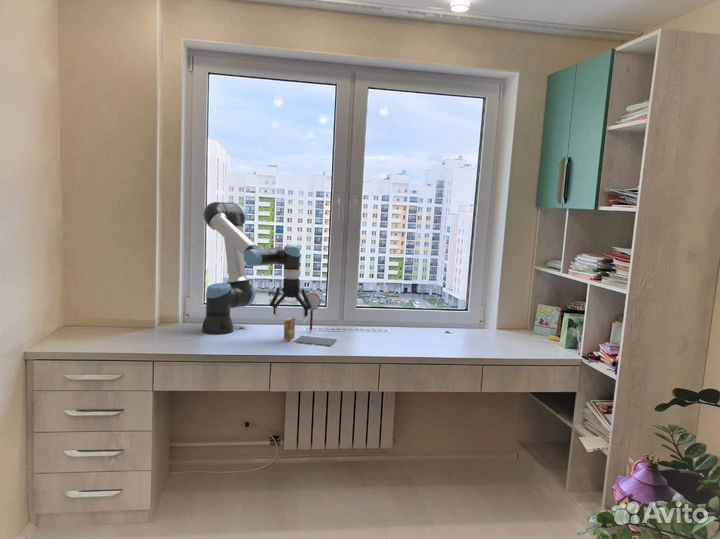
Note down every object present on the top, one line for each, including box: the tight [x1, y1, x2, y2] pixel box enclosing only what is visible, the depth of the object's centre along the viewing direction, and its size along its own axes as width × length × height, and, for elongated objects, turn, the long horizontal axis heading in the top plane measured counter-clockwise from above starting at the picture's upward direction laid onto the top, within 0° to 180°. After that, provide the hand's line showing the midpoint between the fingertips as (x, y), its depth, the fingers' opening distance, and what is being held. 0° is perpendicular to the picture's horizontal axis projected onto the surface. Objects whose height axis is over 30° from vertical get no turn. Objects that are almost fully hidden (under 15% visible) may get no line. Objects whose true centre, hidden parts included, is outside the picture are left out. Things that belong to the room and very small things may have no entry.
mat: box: [293, 335, 338, 347], centre depth 249 cm, size 18×12×1 cm, turn 79°
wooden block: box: [283, 317, 296, 342], centre depth 250 cm, size 3×7×10 cm, turn 169°
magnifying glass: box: [303, 292, 322, 332], centre depth 268 cm, size 9×2×20 cm, turn 99°
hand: (290, 322), depth 250 cm, fingers open, 13 cm apart
